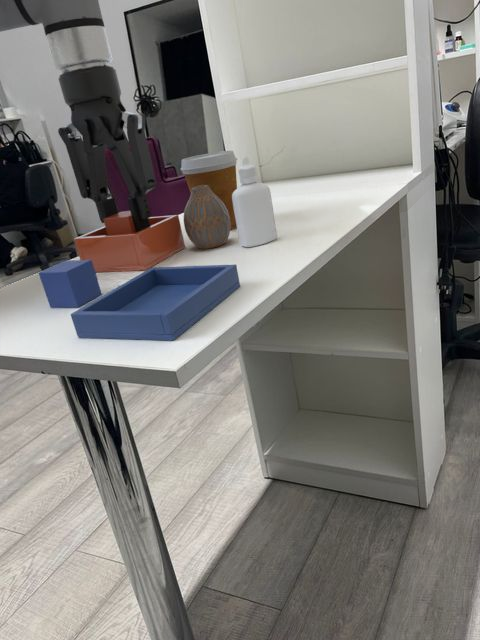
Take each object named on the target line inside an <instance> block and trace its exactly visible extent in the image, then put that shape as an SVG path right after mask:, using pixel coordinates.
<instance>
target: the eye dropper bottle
mask: <svg viewBox="0 0 480 640" xmlns="http://www.w3.org/2000/svg"><path fill="white" fill-rule="evenodd" d="M241 162H242V163H241V166H240V167H239V168H238V176H239V183H240V186H238V187H237V189H236V190H235V191H234V192H233V194H232V202H233V208H234V214H235V219H236V225H237V227H236V230H237V235H238V241H239V245H240V246H242V247H245V248H254V247H258V246H262V245H265V244H269V243H271V242H273V241H274V240H276V239H277V238H278V231H277V225H276V218H275V211H274V206H273V199H272V192H271V189H270V187H269V185H268V184H265V183H261V182H258V175H257V173H258V172H257V168H256V166H255V165H253V164H251V162H250V160H249V157H248V156H243V157H242V161H241Z"/></svg>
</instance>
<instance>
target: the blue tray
mask: <svg viewBox="0 0 480 640" xmlns="http://www.w3.org/2000/svg"><path fill="white" fill-rule="evenodd" d="M240 287H241V282H240V277H239V272H238V266H237V264H211V265H210V264H209V265H185V266H183V265H182V266H181V265H180V266H157V267H154V266H153V267H150V268H149V269H147V270H144V271H143V272H142V273H139V274H138V275H136V276H135V277H133V278H131V279H129V280H128V281H126V282H124V283H122V284H121V285H119V286H117V287H115V288H113V289H111V290H110V291H109V292H107V293H105V294H103V295H100V296H99V297H97V298H95V299H93V300H92V301H90V302H88V304H87V303H86V304H85V305H83V306H81V307H79V308H78V309H77V310H75V311H73V312H72V313H70V315H69V316H70V318H71V321H72V324H73V327H74V330H75V332H76V336H77V338H79V339H80V338H81V339H108V340H109V339H114V340H143V341H147V340H148V341H175V340H176V339H177V338H179V337H180V336H182V335H183V334H184V333H185V332H186V331H187V330H189V329H190V328H191V327H192V326H193V325H195V323H197V322H198V321H199V320H201V319H202V318H203V317H204V316H205V315H207V314H208V313H209V312H211V310H213V309H214V308H215V307H217V306H218V305H219V304H220V303H221V302H223V301H224V300H225V299H226V298H228V297H229V296H230V295H231V294H232V293H234V292H236V290H237V289H239V288H240Z"/></svg>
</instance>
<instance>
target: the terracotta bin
mask: <svg viewBox="0 0 480 640" xmlns="http://www.w3.org/2000/svg"><path fill="white" fill-rule="evenodd" d="M148 219H149V223H150V227H148V228H145V229H143V230H141V231H139V232H137V233H132V234H118V235H108V234H107V230H106V227H105V225H104V226H101V227H99V228H97V229H94V230H91V231H89V232H87V233H85V234H82V235H80V236H77V237H75V238H73V240H74V244H75V247H76V250H77V254H78V257H79V260H92V263H93V266H94V270H95V273H111V272H112V273H113V272H138V271H139V272H141V271H140V270H142V271H147V270H148V269H150V268H153V267H154V266H156V265H157V264H159V263H161V262H163V261H165V260H166V259H169V258H170V257H171V256H173V255H175V254H176V253H179V252H180V251H182V250H183V249H186V244H185V239H184V233H183V230H182V226H181V222H180V217H179V214H174V215H173V214H172V215H161V216H160V215H159V216H151V217H149V218H148Z"/></svg>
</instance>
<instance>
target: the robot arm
mask: <svg viewBox="0 0 480 640" xmlns="http://www.w3.org/2000/svg"><path fill="white" fill-rule="evenodd" d="M100 6H101V5H100V2H99V0H0V32H5V31H10V30H15V29H18V28H19V29H21V28H24V27H28V26H29V27H30V26H36V25H37V26H38V25H40V24H42V26H43V30H44V34H45V37H46V41H47V44H48V48H49V52H50V56H51V59H52V62H53V66H54V69H55V71H57V72H60V73H61V74H60V75H59V76H58V79H57V81H58V83H59V86H60V90H61V93H62V96H63V97H62V98H63V100H64V103H65V105H67V106H68V107H69V109H70V123H68V124H67V125H66V126H63V127H59V128H58V130H57V132H58V135H59V138H60V139H61V140H62V142H63V144H64V146H65V148H66V151H67V155H68V157H69V160H70V164H71V167H72V170H73V173H74V174H73V175H74V177H75V181H76V184H77V187H78V190H79V193H80V196H81V198H82V199H88V200H92V201H93V202H94V203H95V207H96V211H97V213H98V217H99V221H100V223H101V224H105V223H104V220H103V219H104V218H107V217H109V216H112V215H114V214H117V213H119V211H118V208H117V203H116V200H115V197H112V193H109V185H108V175H107V174H108V173H107V163H106V154H105V151H106V150H107V149H108V151H110V152H111V154H112V156H113V158H114V160H115V162H116V165H117V167H118V169H119V171H120V174H121V176H122V179H123V181H124V183H125V185H126V187H127V189H128V191H129V195H127V197H128V198H127V199H126V200H127V204H128V209H129V211H130V212H131V215H132V219H133V223H134V226H135V230H136V233H137V232H139V231H141V230H143V229H145V228H148V227H150V223H149V219H148V218H149V217H152V212H151V211H152V210H151V207H150V204H149V200H148V193H149V192H151V191H152V190H153V189H155V188H157V185H158V184H157V179H156V174H155V171H154V165H153V161H152V158H151V153H150V149H149V148H150V147H149V144H148V140H147V136H146V116H145V115H146V114H144V113H143V112H137V113H134V112H131V111H128V110H127V108H126V107H125V106H124V104H123V102H122V101H121V95H122V91H121V86H120V82H119V78H118V73H117V69H115V67H113V66H110V64H111V63H112V62H113V60H114V59H113V55H112V50H111V47H110V42H109V39H108V34H107V30H106V26H105V23H104V19H103V15H102V11H101V7H100ZM124 129H126V132H125V130H124Z"/></svg>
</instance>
